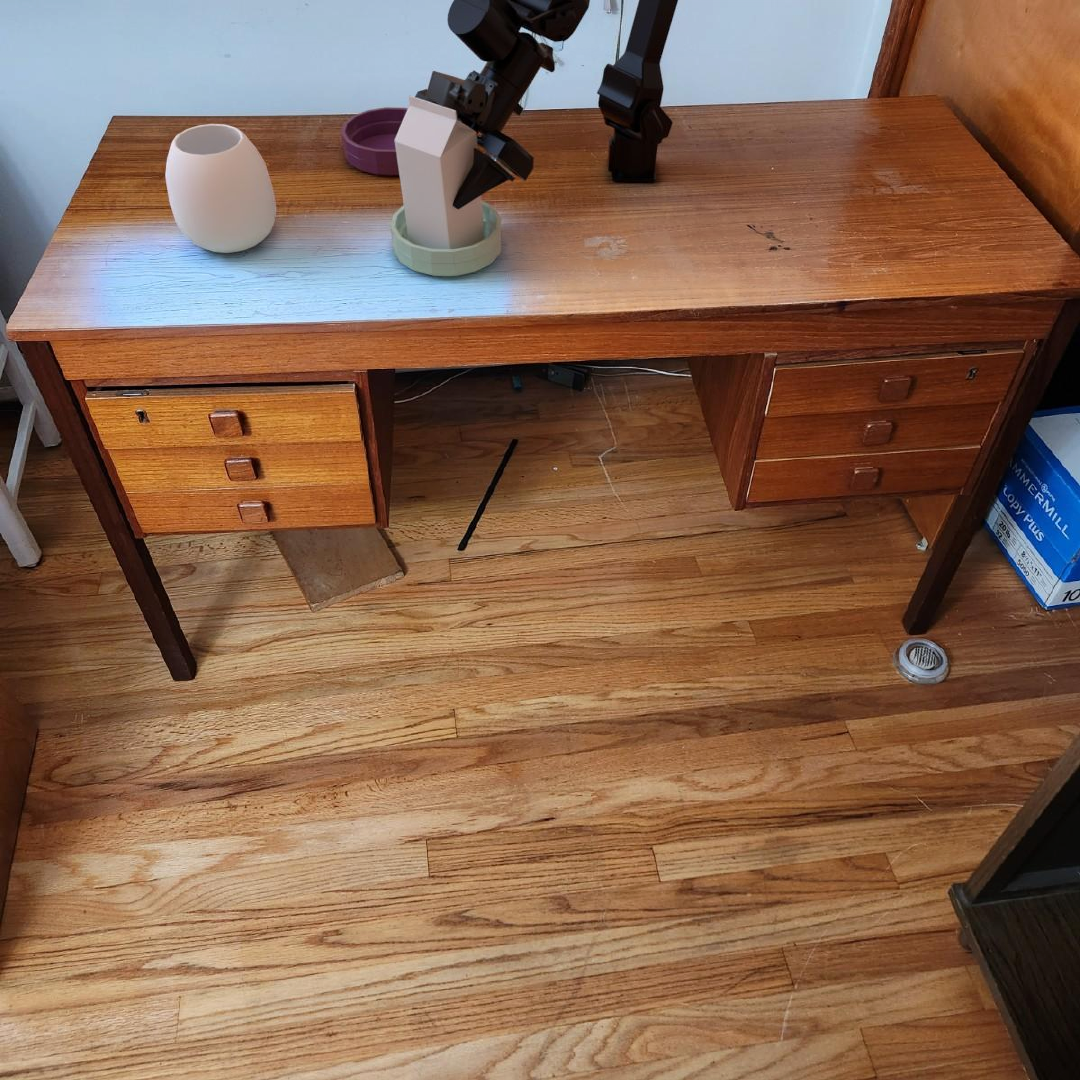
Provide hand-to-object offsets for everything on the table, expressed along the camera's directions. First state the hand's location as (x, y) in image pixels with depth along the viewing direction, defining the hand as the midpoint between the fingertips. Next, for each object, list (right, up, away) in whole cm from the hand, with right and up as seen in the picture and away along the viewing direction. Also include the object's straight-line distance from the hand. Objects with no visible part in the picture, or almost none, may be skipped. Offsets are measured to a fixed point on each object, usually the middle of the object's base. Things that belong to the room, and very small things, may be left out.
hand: (435, 194), depth 120 cm
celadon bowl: (+1, -5, +7) cm, 9 cm away
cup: (-28, -3, +8) cm, 29 cm away
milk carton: (+1, -5, +6) cm, 8 cm away
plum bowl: (-9, +15, +24) cm, 30 cm away
